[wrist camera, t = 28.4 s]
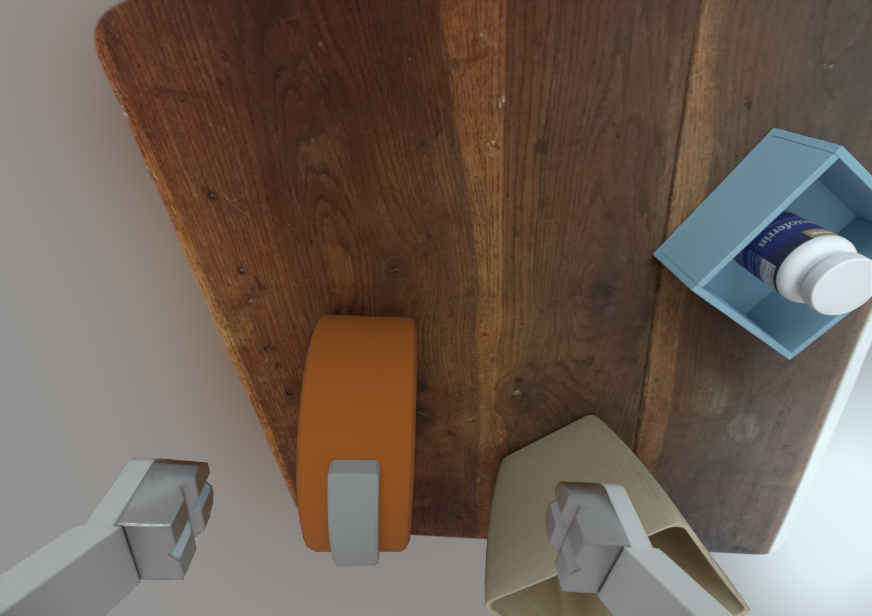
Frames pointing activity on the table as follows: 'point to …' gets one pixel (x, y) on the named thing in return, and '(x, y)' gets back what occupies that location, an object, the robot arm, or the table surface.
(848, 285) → the pill bottle
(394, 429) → the alarm clock
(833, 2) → the table surface
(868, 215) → the open box
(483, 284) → the table surface
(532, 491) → the flower pot
